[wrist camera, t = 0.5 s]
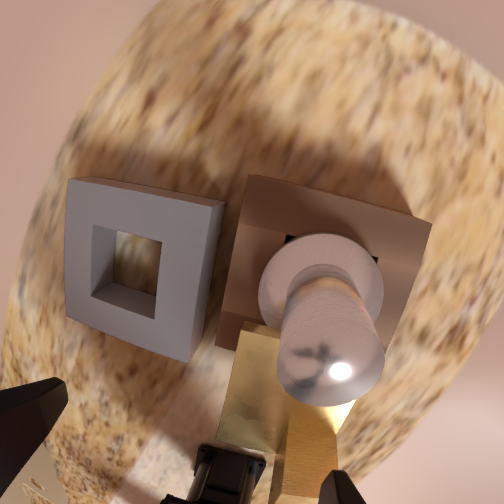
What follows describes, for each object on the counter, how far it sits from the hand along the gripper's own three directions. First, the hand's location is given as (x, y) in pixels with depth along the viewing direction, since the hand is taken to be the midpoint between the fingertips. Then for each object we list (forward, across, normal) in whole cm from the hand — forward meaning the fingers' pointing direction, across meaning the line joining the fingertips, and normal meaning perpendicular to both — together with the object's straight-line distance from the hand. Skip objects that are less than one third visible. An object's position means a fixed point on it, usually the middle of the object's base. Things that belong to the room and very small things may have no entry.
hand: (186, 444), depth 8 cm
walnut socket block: (+12, -4, -3) cm, 13 cm away
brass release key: (+8, -4, +4) cm, 10 cm away
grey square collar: (+13, +8, -1) cm, 15 cm away
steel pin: (+12, -4, -3) cm, 13 cm away
